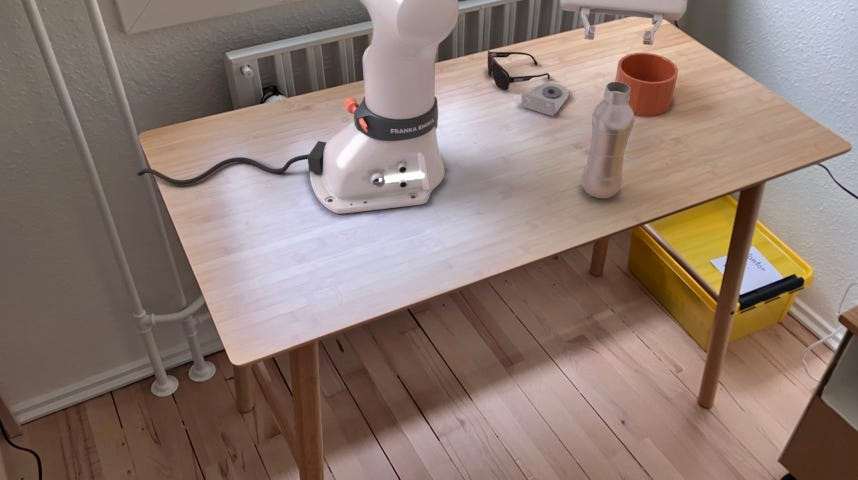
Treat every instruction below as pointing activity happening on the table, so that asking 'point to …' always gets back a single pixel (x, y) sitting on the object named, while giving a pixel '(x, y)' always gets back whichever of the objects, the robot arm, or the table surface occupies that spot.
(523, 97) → the bracket
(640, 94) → the holder sleeve
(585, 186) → the plastic bottle
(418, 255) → the table surface
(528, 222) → the table surface
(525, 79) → the sunglasses
